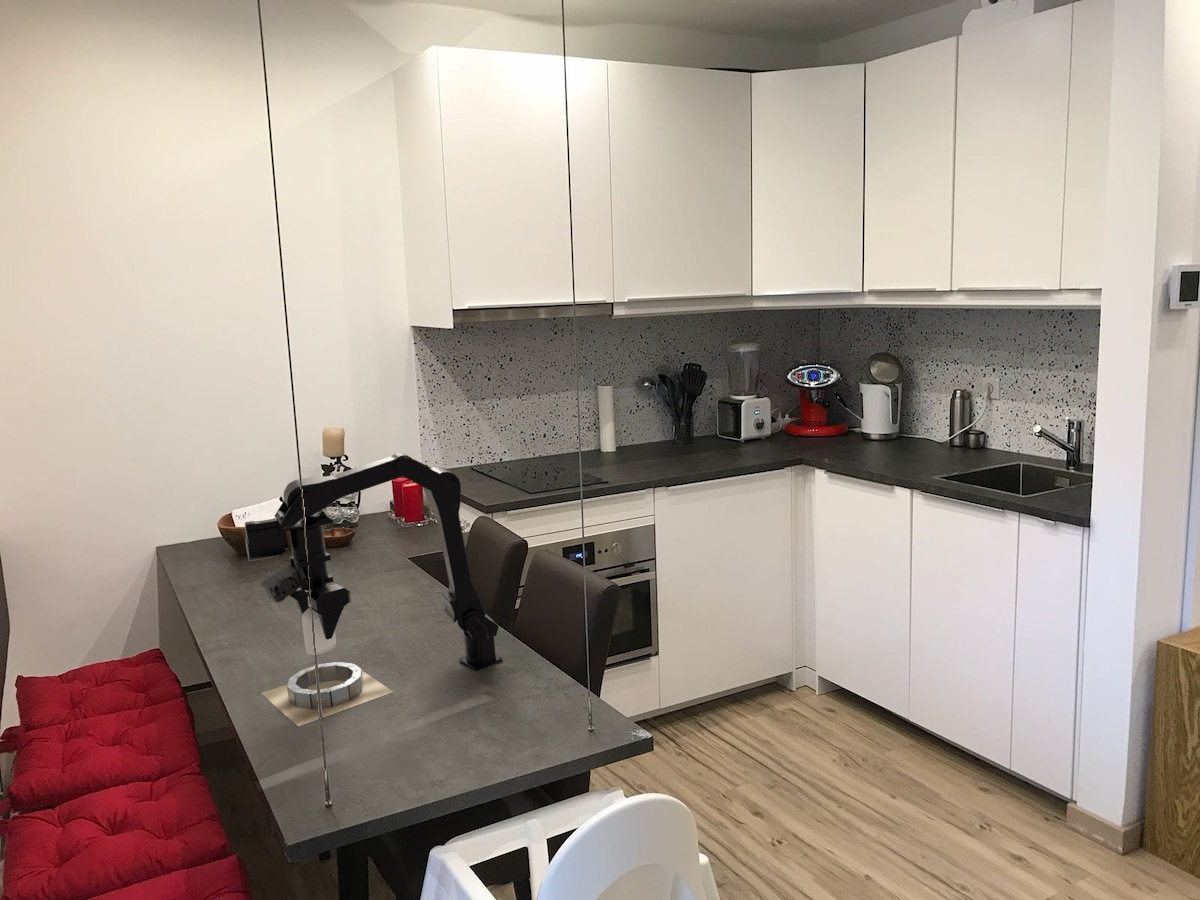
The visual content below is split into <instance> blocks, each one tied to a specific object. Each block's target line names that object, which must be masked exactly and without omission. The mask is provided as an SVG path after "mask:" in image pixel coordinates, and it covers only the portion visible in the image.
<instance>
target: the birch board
mask: <svg viewBox="0 0 1200 900" xmlns="http://www.w3.org/2000/svg"><path fill="white" fill-rule="evenodd" d="M362 677H363V689H362V692H361V693H360V694H359V695H357V696H356V697H355V698H353V699H352V700H350V701H348V702H345V703H343V704H340V705H337V706H334V707H330V708H322V713H323V718H326V717H329V716H331V715H335V714H337V713H340V712H342V711H345V710H349V709H350V708H353V707H356V706H358V705H361V704H364V703H367V702H370V701H372V700H375V699H378V698H381V697H384V696H387V695H389V694H392V693H394V691H393V690H391V689H390V688H388V687H387V686H386V685H384V684H383V683H381V682H380V681H378V680H376V679H375V678H374V677H372V676H371V675H369V674H368V673H366V672H365V671H364V670H362ZM344 682H346V681H340V680H334V681H326V682H321V683H320V689H327V688H331V687H334V686H337V685H340V684H343V683H344ZM306 689H309V690H316V684H315V685H312V686H309V687H308V688H306ZM261 695H262V696H263V697H264V698H266V700H268V701H269V702H270V703H271V704H272V705H273V706H274V707H275V708H277V709H278V710H279V711H280V712H281V713H282V714H283V715H284V716H285V717H287V718H288V719H289V720H290V721H292V722H293V724H294V725H295V726H297V727H301V726H304V725H307V724H309V723H312V722H315V721H317V720H320V719H319V712H318V709H314V710H313V709H312V710H310V709H303V708H297V707H295V706H294V705H293V704H291V703H290V702H289V698H288V691H287V684H284V685H281V686H279V687H276V688H273V689H269V690H266V691H264V692H261Z"/></svg>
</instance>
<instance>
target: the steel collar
mask: <svg viewBox="0 0 1200 900" xmlns="http://www.w3.org/2000/svg"><path fill="white" fill-rule="evenodd" d="M317 665H318V673H319V682H320V683H321V682H326V681H334V680H340V681H346V682H344V683H343V684H340V685H337V686H334V687H331V688H327V689H320V698H321V705H322V708H330V707H334V706H337V705H340V704H343V703H345V702H348V701H350V700H352V699H353V698H355V697H356V696H357V695H359V694H360V693H361V692H362V689H363V677H362V671H363V670H362V668H361V667H359V666H358V665H356V664H355V663H352V662H342V661H333V662H328V663H327V662H326V663H320V664H317ZM315 666H316V665H313V666H310V667H307V668H303V669H301V670H300V671H297V673H295V674H293V675H292V676H291V677H289V678H288V682H287V684H286V685H287V691H288V698H289V702H290V703H291V704H293V705H294V706H295V707H297V708H303V709H310V710H312V709H313V710H314V709H318V701H317V690H309V689H306V688H308V687H309V686H312V685H315V684H316V676H315Z"/></svg>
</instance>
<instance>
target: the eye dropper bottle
mask: <svg viewBox="0 0 1200 900" xmlns="http://www.w3.org/2000/svg"><path fill="white" fill-rule="evenodd" d="M311 592H312V591H311ZM308 604H309V607H311V605H310V603H309V596H308ZM313 621H314V633H315V648H316V656H319V655H322V654H326V653H327V652H329V651H332V650H334V648H335V647H336V646H337V640H336V639H337V637H336V630H335V631H334V634H333V637H332V638H331V639H328V640H327V639H325V636H324V633H323V629H322V626H321V622H320V619H319V615H318V613H316V612H315V611H313ZM301 624H302V632H303V641H304V642H303V643H304V648H305V654H307V655H309V656H312V657H313V656H314V657H315V652H314V645H313V633H312V612H311V609H310V608H308V609H307V610H306V611H305V612H304V613H303V615H302V614H301Z"/></svg>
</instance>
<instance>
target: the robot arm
mask: <svg viewBox="0 0 1200 900" xmlns="http://www.w3.org/2000/svg"><path fill="white" fill-rule="evenodd" d="M400 478H405V479H407V480H409V481H411V482H413V483H415V484H417V485H418V486H421V487H422V489H423V491H424V493H425V496H426V498H427V502H428V503H429V505H430V507H431V509H432V511H433V514H435V517H436V522H437V528H438V533H439V537H440V543H441V547H442V553H443V557H444V562H445V567H446V573H447V577H448V583H449V585H448V591H447V592H442V593H441V597H442V600H443V601H444V613H445V615H447V616H448V617H449V618H450V619H451V621H452V622H454V623H455V624H456V626H458V628H460V630H463V643H464V653H465V656H461V657H459V659H458V661H459V662H460V663H462V664H464V665H465V666H468V667H470V668H471V669H473V670H476V671H477V670H480V669H482V668H485V667H488V666H490V665H493V664H497V663H499V662H501V661H504V658H503V656H501V655H499V654H497V652H496V644H495V637H496V636H497V634H498V630H499V625H498V624H497V622H495V620H493V619H492V618H491V616H489V615H488V613H486V610H485V608H484V605H483V602H482V600H481V598H480V596H479V593H478V592H477V590H476V588H475V586H474V583H473V581H472V576H471V571H470V566H469V560H468V556H467V551H466V546H465V540H464V535H463V530H462V525H461V519H460V509H461V502H462V483H461V481H460V478H458V475H456V474H455V473H452V472H451V471H450V470H448V469H447V468H445V467H443V466H439V465H438V466H433V467H431V466H429V465H426V464H425V463H423V462H420V461H418V460H416V459H415V458H412V457H411V456H409V455H407V454H406V453H405V452H401V451H400V452H396V453H394V454H392V455H390V456H387V457H385V458H381V459H378V460H375V461H371V462H369V463H367V464H362V465H360V466H357V467H354V468H350V469H348V470H346V471H342V472H339V473H335V474H332V475H326V476H312V477H306V478H301V479H302V489H303V499H304V507H305V517H306V537H307V549H308V562H307V555H306V549H305V537H304V520H303V509H302V497H301V489H300V482H299V479H293V480H292V481H290V482H289V483H288V484H287V485H286V487H285V488H284V490H283V501H282V502H281V504H280V505H279V508H278V509H277V510H276V513H275V515H274V518H269V519H263V520H255V521H254V520H251V521H250V520H249V521H246V522H244V531H245V532H244V533H245V537H244V541H245V548H246V555H247V559H248V562H253V561H260V560H264V559H265V560H266V559H270V558H276V557H282V556H283V555H284V554H283V553H286V550H288V549H289V542H288V536H287V532H289V539H290V545H291V555H292V556H289V557H288V559H287V566H286V567H284V568H283V569H280V570H278V571H276V572H275V573H273V574H272V575H270V577H268V578H266V579H264V580H263V581H262V582H261V585H262V587H263V589H264V591H265V592H266V594H267V596H268V598H269V599H270V600H272V601H274V602H275V603H280V602H282V601H284V600H285V599H286V598H287V597H289V596H290V597H291V598H292V599H294V600H295V602H296V604H297V607H298V610H299V611H300V613H301V616H302V615H303V613H304V612H305V611H306V610H307V609H308V608H310V609H311V607H309V604H308V596H309V603H310V605H311V601H312V610H313V611H315V612H316V613H318V615H319V619H320V622H321V626H322V629H323V633H324V636H325V639H327V640H328V639H331V638H332V637H333V634H334V631H335V632H336V627H337V625H338V623H339V620H340V618H341V615H342V613H343V610H344V608H345V607H346V606H347V605H348V604H350V603H351V602H352V597H351V591H350V590H348V589H347V588H345V587H343V586H342V585H340V584H338V583H333V582H334V576H333V575H331V574H329V567H328V562H329V561H331V554H330V553H328V552H326V543H325V536H324V535H325V534H324V529H323V528H324V527H323V526H326V525H331V524H334V519H333V518H332V516H331V515H329V514H327V513H326V512H325V511H324V510H325V509H327V508H329V507H330V506H331V505H332V504H334V503H335V502H336V501H338V500H340V499H342V498H344V497H347V496H349V495H352V494H355V493H359V492H362V491H364V490H367V489H369V488H373V487H376V486H378V485H379V486H380V485H381V484H385V483H387V482H391V481H393V480H396V479H400ZM308 565H309V577H310V589H311V591H312V592H311V599H310V595H309V579H308ZM330 583H333V584H330ZM327 584H330V585H327Z"/></svg>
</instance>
